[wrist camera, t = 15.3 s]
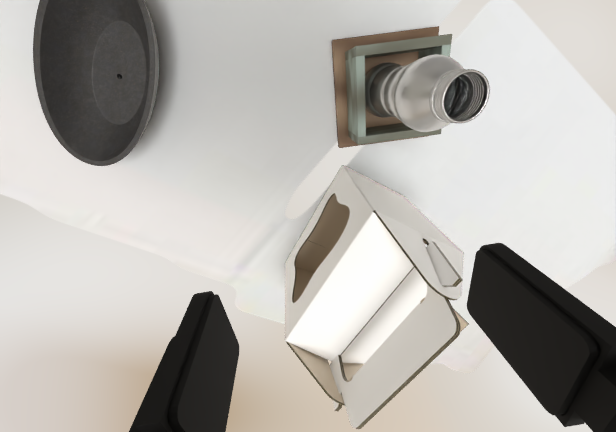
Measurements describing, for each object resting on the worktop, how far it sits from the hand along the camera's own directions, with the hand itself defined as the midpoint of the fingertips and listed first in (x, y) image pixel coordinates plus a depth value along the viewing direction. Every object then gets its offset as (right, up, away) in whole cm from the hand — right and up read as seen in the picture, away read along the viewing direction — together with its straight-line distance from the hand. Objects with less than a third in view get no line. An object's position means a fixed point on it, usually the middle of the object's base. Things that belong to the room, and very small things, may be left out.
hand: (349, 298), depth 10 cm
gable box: (+5, 0, +39) cm, 39 cm away
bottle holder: (+9, +21, +29) cm, 37 cm away
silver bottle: (+9, +21, +28) cm, 36 cm away
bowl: (-26, +22, +26) cm, 43 cm away
